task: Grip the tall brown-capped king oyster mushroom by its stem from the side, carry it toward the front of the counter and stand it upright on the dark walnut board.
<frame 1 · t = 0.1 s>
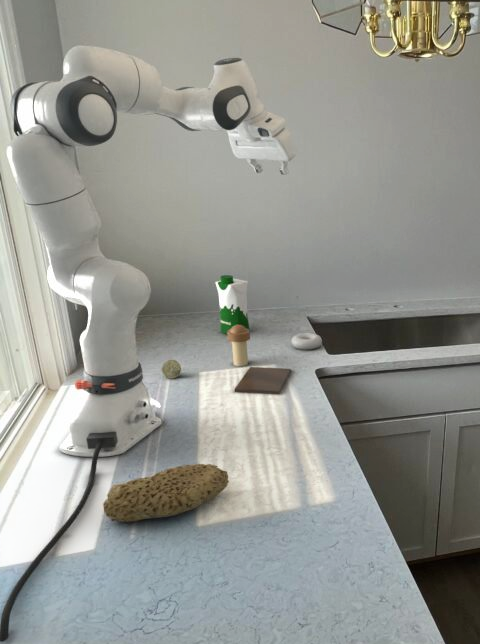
hand: (272, 172, 155), 54 cm above the worktop, tool tilted 30°, fingers open, 8 cm apart
sponge: (172, 506, 103), on the worktop
olive green ball: (172, 377, 157), on the worktop
board: (264, 381, 156), on the worktop
donut: (306, 346, 184), on the worktop
milk carton: (235, 332, 195), on the worktop
mushroom: (240, 363, 167), on the worktop
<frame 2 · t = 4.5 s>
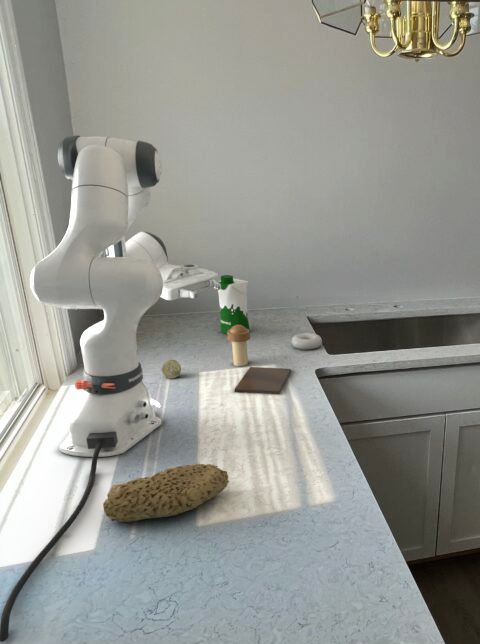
hand: (207, 291, 164), 21 cm above the worktop, tool horizontal, fingers open, 8 cm apart
nothing on the worktop moved.
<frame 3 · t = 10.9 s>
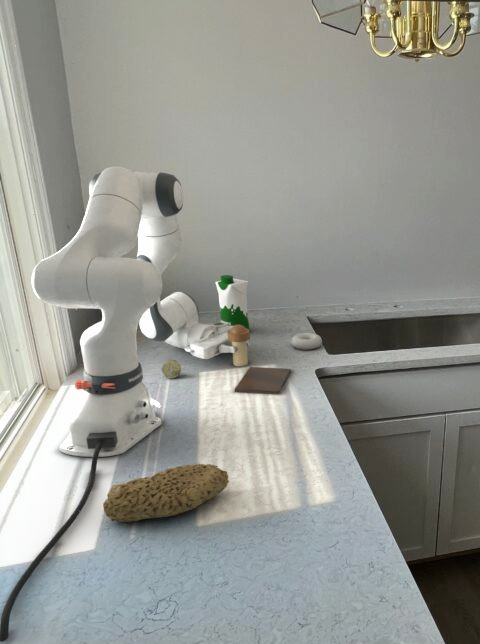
hand: (241, 347, 165), 6 cm above the worktop, tool horizontal, fingers closed on mushroom, 4 cm apart
mushroom: (240, 363, 167), on the worktop, touching gripper
everything else where it was.
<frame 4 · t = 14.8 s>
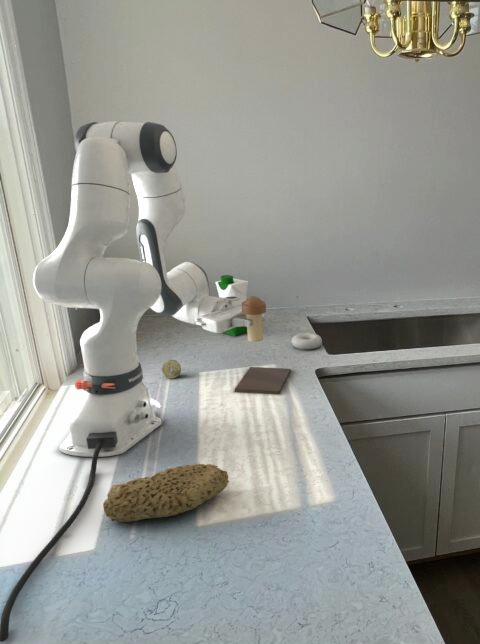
hand: (257, 320, 152), 17 cm above the worktop, tool horizontal, fingers closed on mushroom, 4 cm apart
mushroom: (255, 339, 154), point 11 cm above the worktop, touching gripper
everything else where it was.
when the fingers open (6 cm above the worktop, at t = 18.6 s): mushroom stays where it is, resting on board.
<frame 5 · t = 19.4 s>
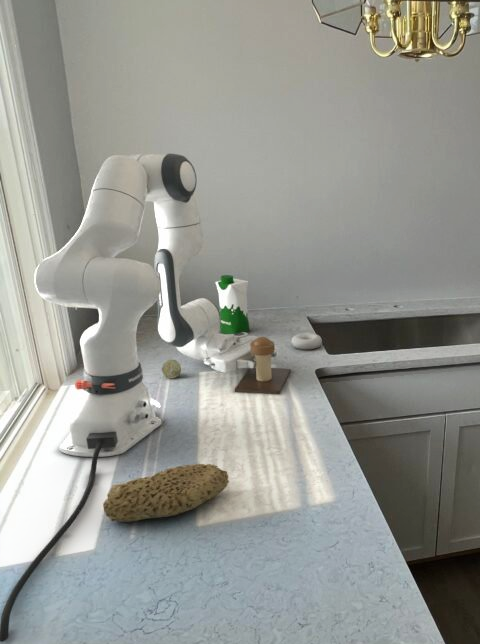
hand: (265, 359, 153), 7 cm above the worktop, tool horizontal, fingers open, 8 cm apart
mushroom: (264, 378, 156), point 1 cm above the worktop, touching board
everything else where it was.
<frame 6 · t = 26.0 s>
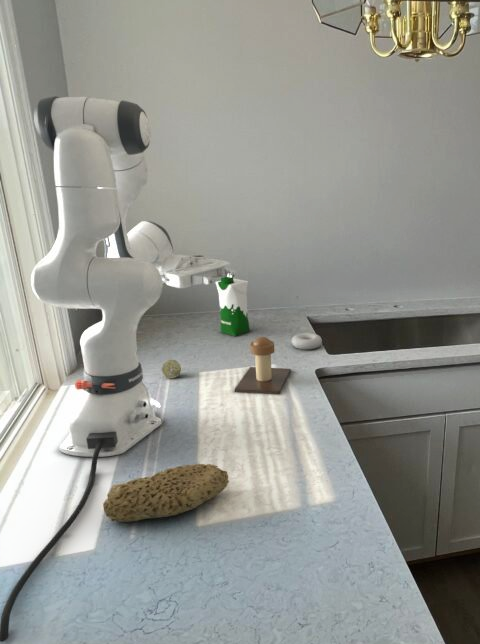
hand: (222, 277, 150), 28 cm above the worktop, tool horizontal, fingers open, 8 cm apart
nothing on the worktop moved.
at the end: mushroom inside the target area (0.1 cm from its centre), point 0.8 cm above the worktop; mushroom tilted 0°; the gripper is holding nothing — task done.
